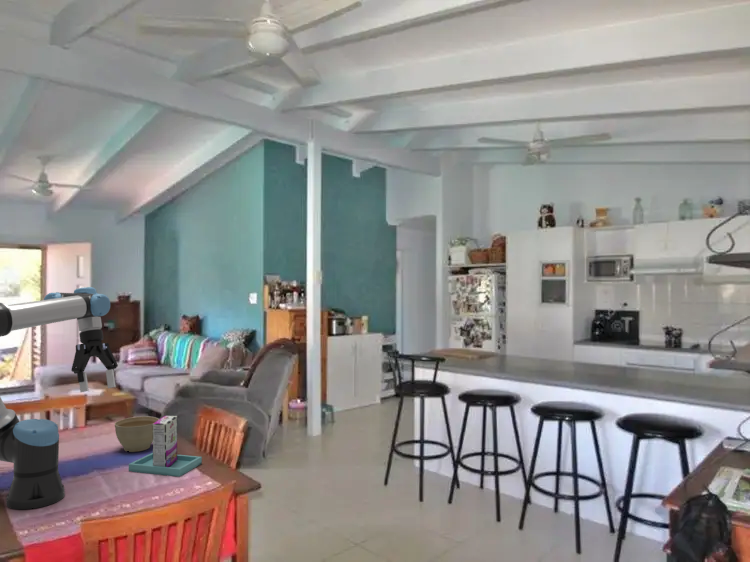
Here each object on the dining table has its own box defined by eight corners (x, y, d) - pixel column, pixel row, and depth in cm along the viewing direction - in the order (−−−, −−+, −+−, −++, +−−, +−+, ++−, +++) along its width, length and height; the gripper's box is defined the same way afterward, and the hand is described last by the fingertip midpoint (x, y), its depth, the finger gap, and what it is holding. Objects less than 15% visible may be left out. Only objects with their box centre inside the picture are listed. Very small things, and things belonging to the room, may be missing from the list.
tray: (179, 476, 192) (179, 469, 192) (128, 471, 197) (128, 464, 197) (201, 463, 205) (201, 456, 205) (153, 458, 210) (153, 452, 210)
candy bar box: (163, 460, 206) (164, 415, 206) (177, 460, 206) (177, 415, 206) (151, 470, 195) (151, 423, 195) (166, 470, 195) (166, 423, 195)
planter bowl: (145, 440, 234) (145, 414, 234) (166, 448, 224) (166, 420, 224) (106, 449, 221) (106, 421, 221) (127, 458, 211) (127, 429, 211)
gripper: (106, 332, 216) (113, 387, 213) (54, 332, 191) (62, 395, 189) (122, 328, 214) (130, 384, 211) (73, 328, 190) (81, 391, 187)
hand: (98, 389), depth 200 cm, fingers open, 13 cm apart
